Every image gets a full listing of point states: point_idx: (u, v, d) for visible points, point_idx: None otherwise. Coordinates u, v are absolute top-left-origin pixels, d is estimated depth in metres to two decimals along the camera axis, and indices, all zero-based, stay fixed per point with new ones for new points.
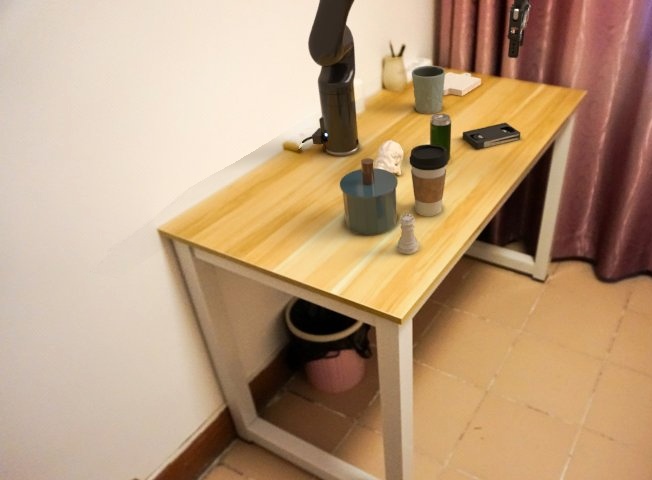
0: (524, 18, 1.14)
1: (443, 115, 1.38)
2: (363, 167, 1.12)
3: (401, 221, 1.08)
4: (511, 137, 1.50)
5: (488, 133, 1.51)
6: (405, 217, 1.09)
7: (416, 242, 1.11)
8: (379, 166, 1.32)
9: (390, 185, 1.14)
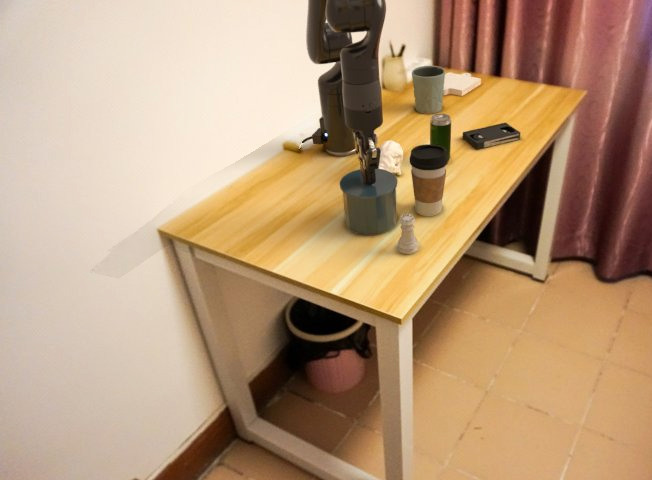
0: (375, 147, 1.09)
1: (443, 115, 1.38)
2: None
3: (401, 221, 1.08)
4: (511, 137, 1.50)
5: (488, 133, 1.51)
6: (405, 217, 1.09)
7: (416, 242, 1.11)
8: (379, 166, 1.32)
9: (390, 185, 1.14)
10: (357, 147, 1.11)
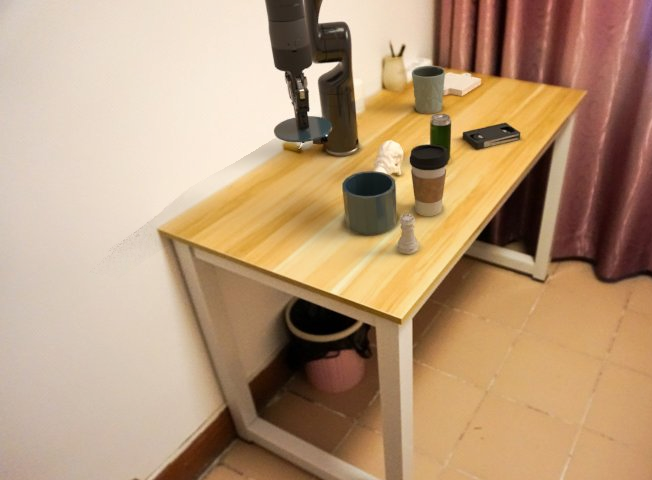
0: None
1: (443, 115, 1.38)
2: None
3: (401, 221, 1.08)
4: (511, 137, 1.50)
5: (488, 133, 1.51)
6: (405, 217, 1.09)
7: (416, 242, 1.11)
8: (379, 166, 1.32)
9: (324, 130, 1.15)
10: (289, 91, 1.12)
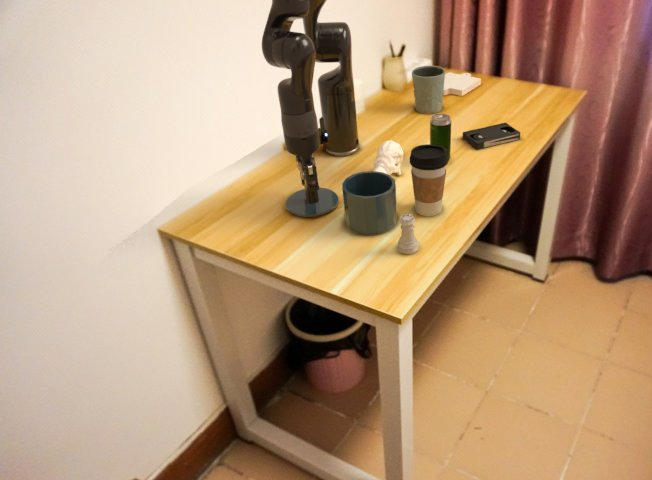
0: None
1: (443, 115, 1.38)
2: None
3: (401, 221, 1.08)
4: (511, 137, 1.50)
5: (488, 133, 1.51)
6: (405, 217, 1.09)
7: (416, 242, 1.11)
8: (379, 166, 1.32)
9: (331, 204, 1.26)
10: (297, 165, 1.24)
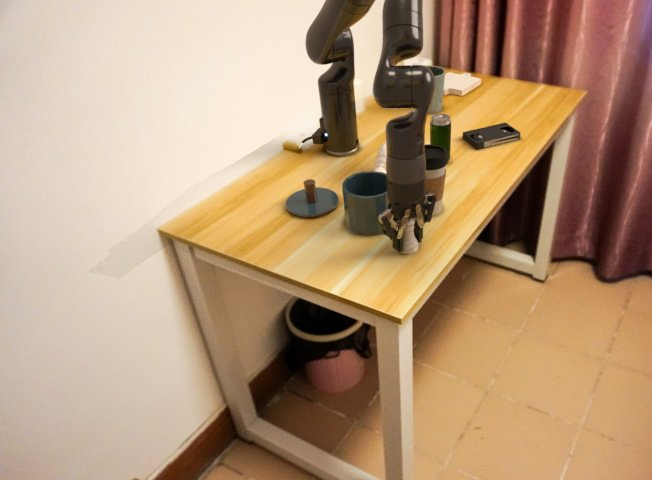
0: (402, 220, 1.05)
1: (443, 115, 1.38)
2: (306, 188, 1.24)
3: None
4: (511, 137, 1.50)
5: (488, 133, 1.51)
6: None
7: (416, 242, 1.11)
8: (379, 166, 1.32)
9: (331, 204, 1.26)
10: None
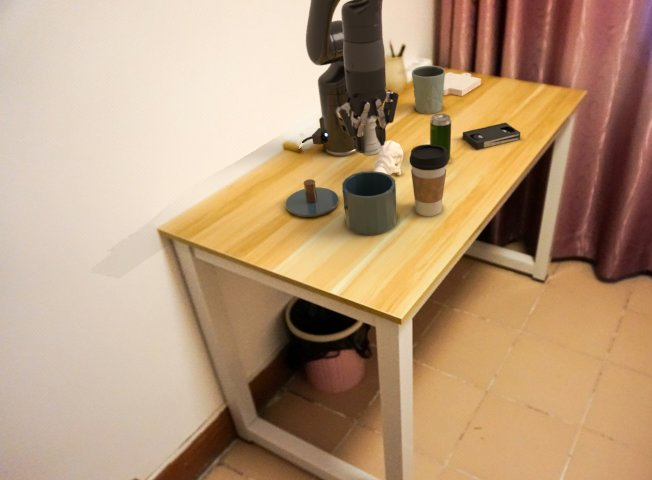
0: (361, 115, 1.03)
1: (443, 115, 1.38)
2: (306, 188, 1.24)
3: None
4: (511, 137, 1.50)
5: (488, 133, 1.51)
6: None
7: (378, 143, 1.08)
8: (379, 166, 1.32)
9: (331, 204, 1.26)
10: None
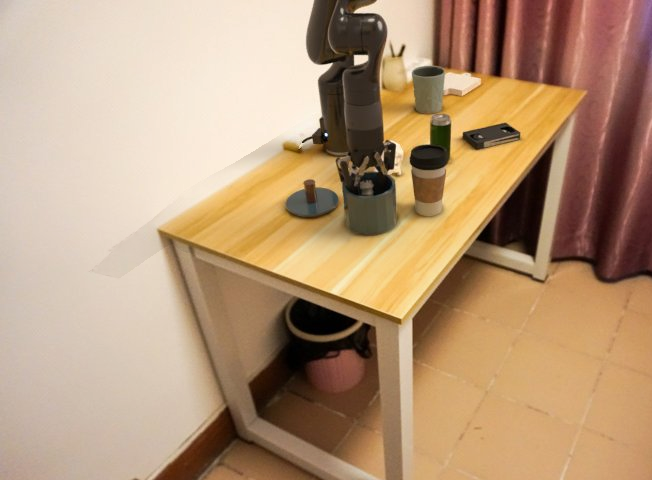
0: (360, 167, 1.10)
1: (443, 115, 1.38)
2: (306, 188, 1.24)
3: (360, 186, 1.18)
4: (511, 137, 1.50)
5: (488, 133, 1.51)
6: (364, 183, 1.18)
7: None
8: None
9: (331, 204, 1.26)
10: None
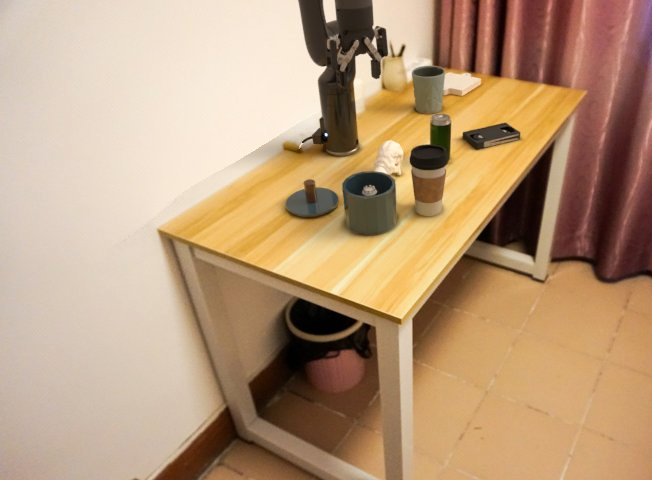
0: (349, 50, 1.11)
1: (443, 115, 1.38)
2: (306, 188, 1.24)
3: (363, 192, 1.16)
4: (511, 137, 1.50)
5: (488, 133, 1.51)
6: (367, 188, 1.17)
7: None
8: (379, 166, 1.32)
9: (331, 204, 1.26)
10: None
